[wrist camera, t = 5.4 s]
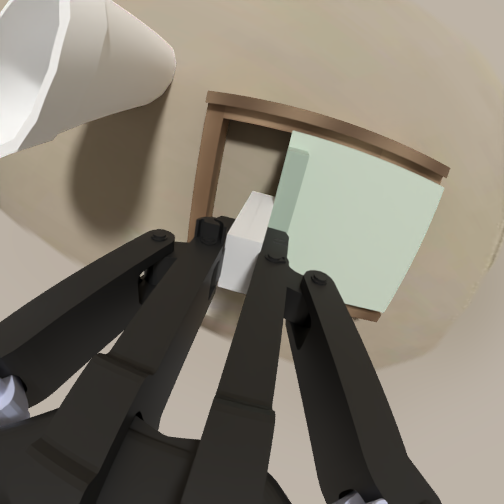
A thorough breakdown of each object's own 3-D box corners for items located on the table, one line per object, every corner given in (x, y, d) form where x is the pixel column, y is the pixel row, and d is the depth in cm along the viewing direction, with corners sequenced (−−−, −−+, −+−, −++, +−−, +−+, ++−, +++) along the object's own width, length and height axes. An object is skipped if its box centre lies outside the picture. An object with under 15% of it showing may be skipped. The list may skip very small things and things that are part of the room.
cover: (255, 274, 21) (249, 296, 19) (292, 130, 16) (292, 132, 13) (381, 306, 21) (388, 329, 18) (439, 184, 15) (458, 196, 13)
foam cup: (86, 107, 18) (-35, 133, 7) (123, 15, 14) (6, -12, 3) (167, 139, 19) (35, 184, 8) (216, 34, 15) (111, -41, 3)
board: (192, 256, 24) (182, 272, 22) (219, 93, 17) (208, 90, 15) (371, 303, 23) (376, 322, 21) (434, 161, 16) (450, 168, 14)
